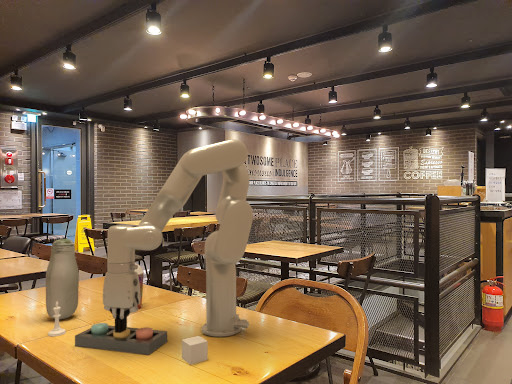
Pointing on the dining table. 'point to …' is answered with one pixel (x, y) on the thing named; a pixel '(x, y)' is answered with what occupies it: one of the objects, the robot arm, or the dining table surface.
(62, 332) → the chess piece
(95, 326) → the teal button
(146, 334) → the brick button
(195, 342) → the white cube
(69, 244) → the grey bottle
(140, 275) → the smoothie
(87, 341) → the button panel
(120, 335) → the mustard button
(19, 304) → the dining table surface
